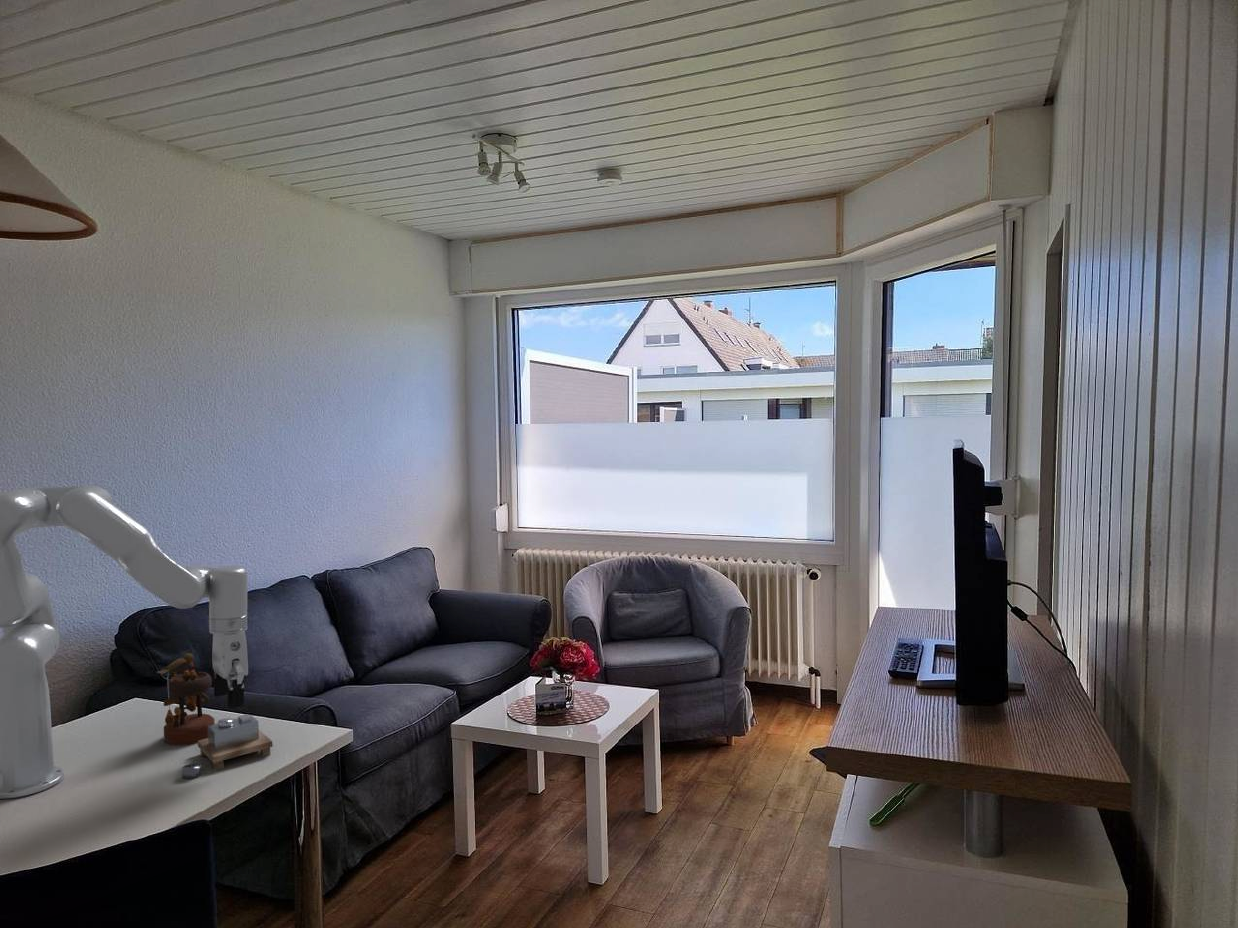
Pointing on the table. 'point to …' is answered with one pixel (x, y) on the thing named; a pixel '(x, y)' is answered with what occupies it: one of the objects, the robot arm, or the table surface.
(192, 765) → the dark grey round piece
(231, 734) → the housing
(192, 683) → the music box
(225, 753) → the stand
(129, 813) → the table surface
